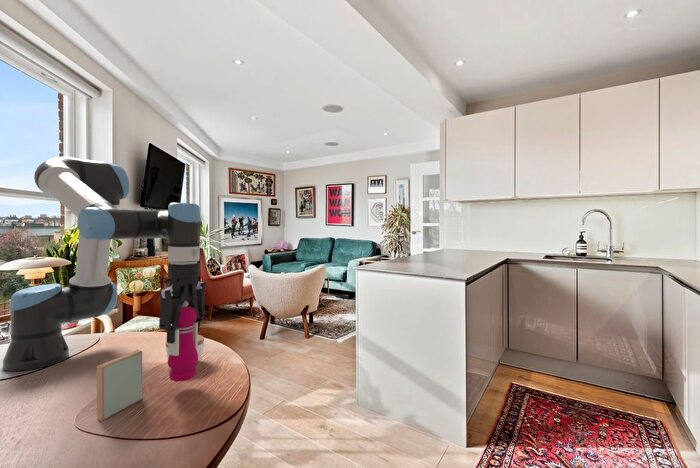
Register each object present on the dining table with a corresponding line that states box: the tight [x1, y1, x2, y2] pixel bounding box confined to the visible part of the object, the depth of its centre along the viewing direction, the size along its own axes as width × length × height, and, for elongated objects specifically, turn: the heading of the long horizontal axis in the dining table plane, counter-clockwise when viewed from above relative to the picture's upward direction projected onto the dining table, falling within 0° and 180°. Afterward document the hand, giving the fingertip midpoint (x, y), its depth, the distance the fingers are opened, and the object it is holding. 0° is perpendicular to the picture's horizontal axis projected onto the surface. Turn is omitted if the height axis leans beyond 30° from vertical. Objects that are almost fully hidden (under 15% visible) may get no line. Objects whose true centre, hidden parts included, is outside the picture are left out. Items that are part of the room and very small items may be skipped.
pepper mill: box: [167, 300, 199, 382], centre depth 88 cm, size 7×7×20 cm
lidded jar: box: [165, 334, 205, 361], centre depth 104 cm, size 11×11×9 cm
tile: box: [96, 349, 143, 422], centre depth 79 cm, size 2×10×12 cm, turn 163°
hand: (183, 350), depth 88 cm, fingers closed on pepper mill, 6 cm apart
